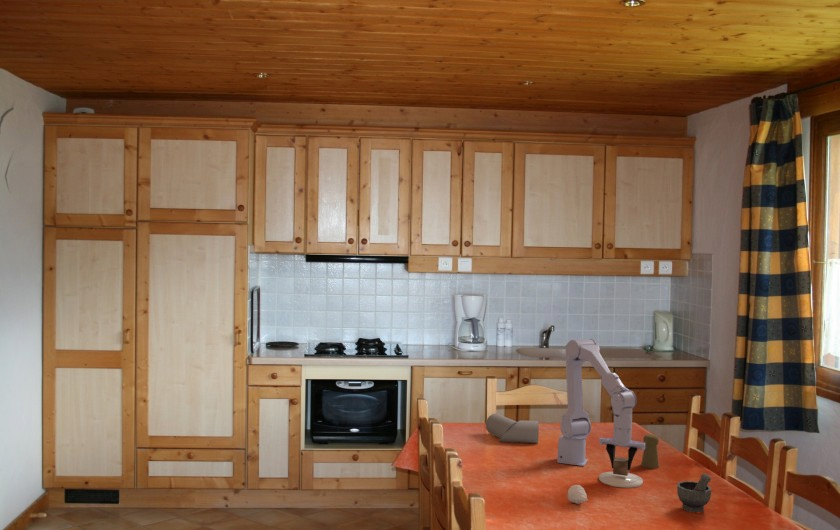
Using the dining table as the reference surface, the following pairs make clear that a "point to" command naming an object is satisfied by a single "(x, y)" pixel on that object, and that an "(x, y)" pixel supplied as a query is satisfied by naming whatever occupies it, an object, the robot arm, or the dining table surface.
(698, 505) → the mortar and pestle
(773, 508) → the dining table surface
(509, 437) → the bent grey cylinder
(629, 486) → the plate
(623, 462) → the walnut cube
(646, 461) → the pepper mill
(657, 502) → the dining table surface
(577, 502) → the garlic bulb
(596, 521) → the dining table surface
